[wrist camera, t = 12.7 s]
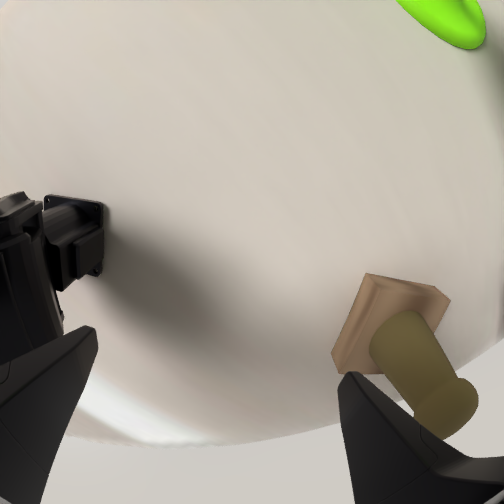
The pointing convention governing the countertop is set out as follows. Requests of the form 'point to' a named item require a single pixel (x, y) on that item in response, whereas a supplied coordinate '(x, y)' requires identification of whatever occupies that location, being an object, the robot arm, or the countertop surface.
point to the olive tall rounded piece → (423, 374)
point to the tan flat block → (382, 317)
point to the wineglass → (450, 20)
